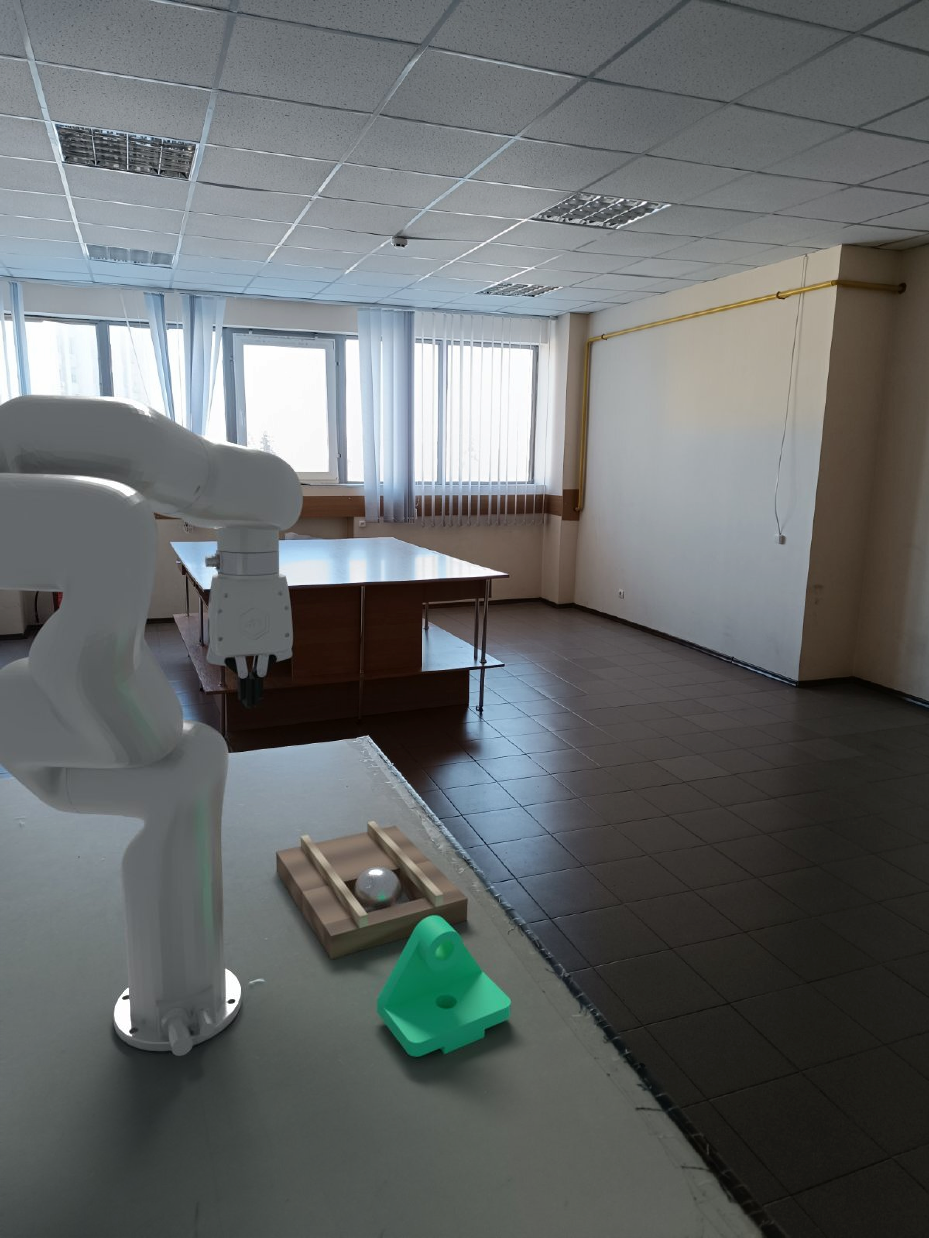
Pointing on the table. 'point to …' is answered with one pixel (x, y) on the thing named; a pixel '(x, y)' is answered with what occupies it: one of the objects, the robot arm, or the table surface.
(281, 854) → the walnut board
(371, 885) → the steel ball
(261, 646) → the robot arm
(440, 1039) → the camera mount
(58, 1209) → the table surface
